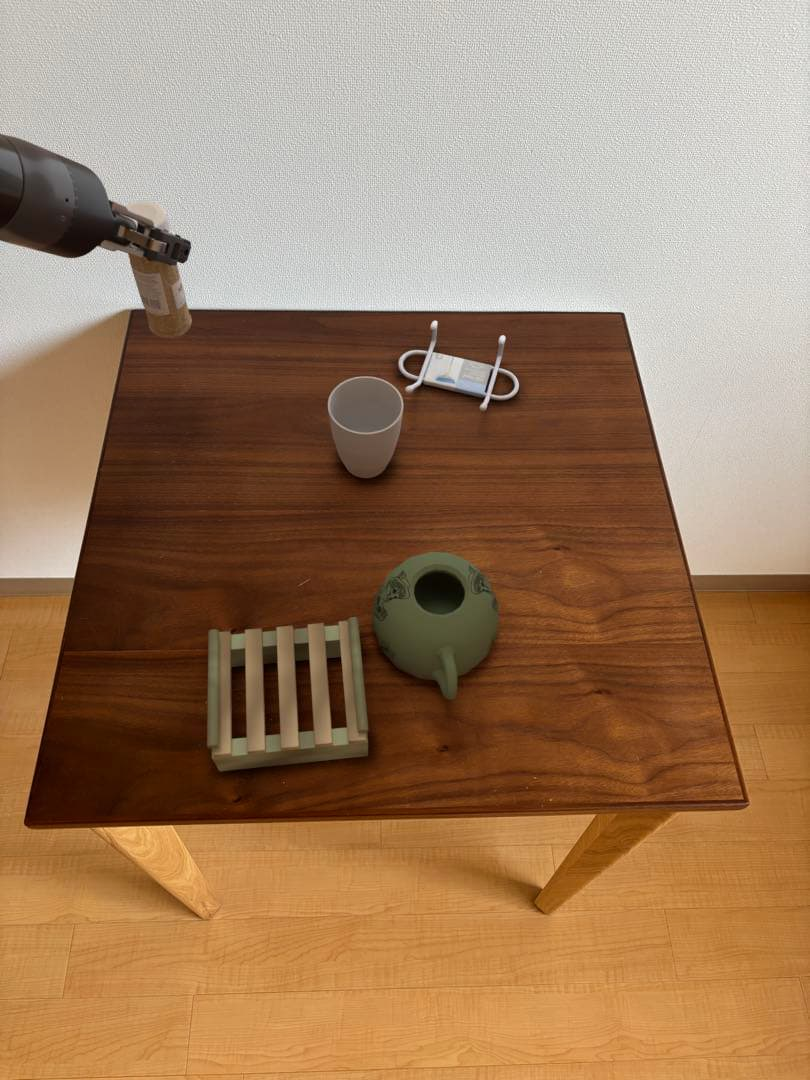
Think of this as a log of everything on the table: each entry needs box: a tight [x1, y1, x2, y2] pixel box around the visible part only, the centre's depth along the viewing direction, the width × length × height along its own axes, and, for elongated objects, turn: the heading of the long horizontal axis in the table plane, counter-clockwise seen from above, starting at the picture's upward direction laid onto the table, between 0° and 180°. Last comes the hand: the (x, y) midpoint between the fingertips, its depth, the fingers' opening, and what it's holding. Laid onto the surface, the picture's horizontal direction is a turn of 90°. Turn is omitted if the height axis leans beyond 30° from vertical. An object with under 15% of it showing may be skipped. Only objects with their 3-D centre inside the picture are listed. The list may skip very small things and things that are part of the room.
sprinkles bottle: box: [120, 200, 193, 339], centre depth 80 cm, size 5×5×13 cm
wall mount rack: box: [397, 320, 520, 412], centre depth 100 cm, size 16×14×6 cm
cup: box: [327, 375, 404, 479], centre depth 92 cm, size 8×8×10 cm
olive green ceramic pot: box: [371, 551, 499, 701], centre depth 80 cm, size 16×13×9 cm
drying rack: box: [206, 616, 369, 772], centre depth 77 cm, size 14×12×6 cm
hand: (163, 242), depth 79 cm, fingers closed on sprinkles bottle, 4 cm apart
